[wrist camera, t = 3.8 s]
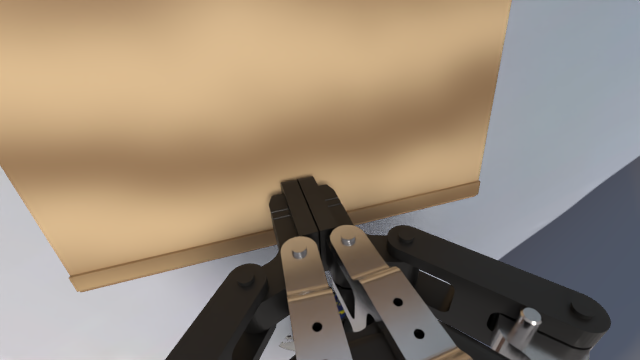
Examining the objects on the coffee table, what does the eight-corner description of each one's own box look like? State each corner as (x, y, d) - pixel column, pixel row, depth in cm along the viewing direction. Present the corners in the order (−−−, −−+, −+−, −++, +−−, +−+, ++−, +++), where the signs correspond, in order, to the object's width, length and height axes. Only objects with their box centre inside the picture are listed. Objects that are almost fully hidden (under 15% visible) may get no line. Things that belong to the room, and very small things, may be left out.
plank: (-38, 7, 11) (-105, 6, 9) (475, -33, 15) (522, -41, 13) (98, 255, 16) (79, 294, 14) (448, 176, 20) (477, 197, 18)
